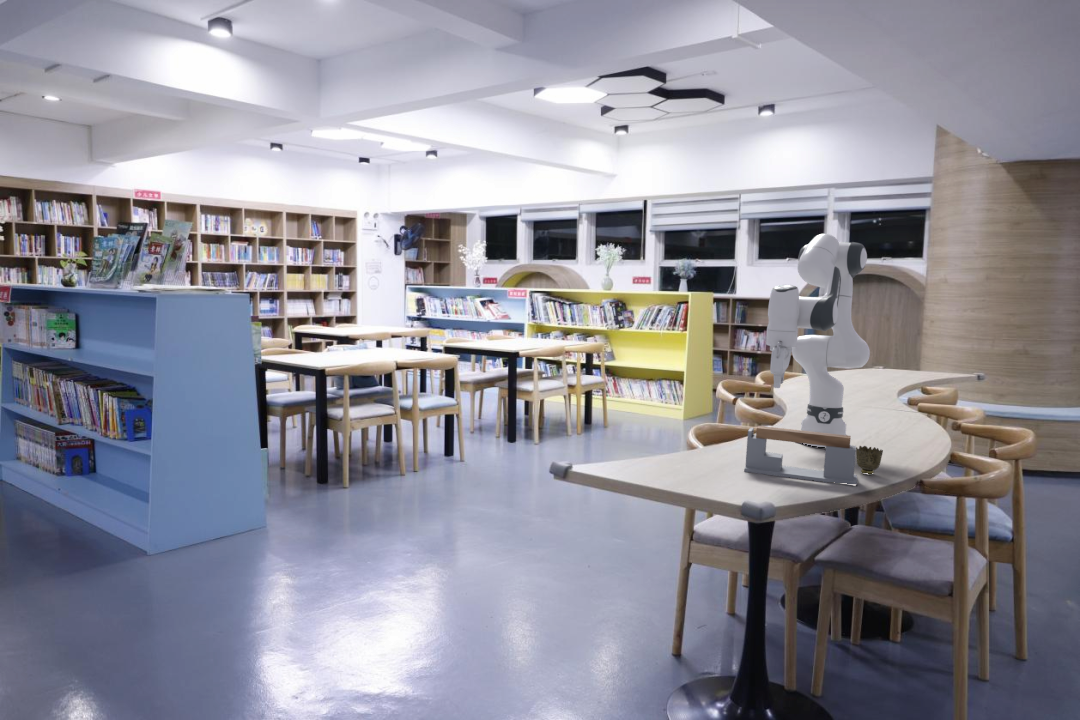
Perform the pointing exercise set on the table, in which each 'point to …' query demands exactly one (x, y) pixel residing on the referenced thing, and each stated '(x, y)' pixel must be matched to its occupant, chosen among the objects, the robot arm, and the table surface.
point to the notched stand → (835, 468)
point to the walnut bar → (803, 436)
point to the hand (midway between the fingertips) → (778, 385)
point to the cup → (868, 459)
